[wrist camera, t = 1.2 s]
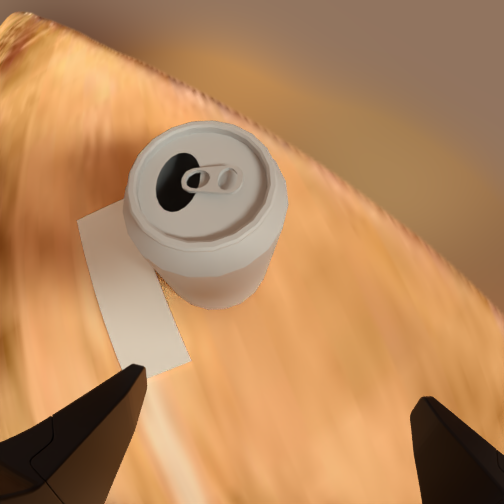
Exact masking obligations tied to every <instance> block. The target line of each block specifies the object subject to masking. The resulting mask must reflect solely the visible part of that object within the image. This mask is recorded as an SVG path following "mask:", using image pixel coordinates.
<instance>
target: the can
mask: <svg viewBox="0 0 504 504" xmlns="http://www.w3.org/2000/svg"><path fill="white" fill-rule="evenodd" d="M287 208H288V197H287V188H286V181H285V179H284V177H283V175H282V173H281V171H280V169H279V167H278V165H277V163H276V161H275V160H274V159H273V158H272V157H271V155H270V153H269V151H268V149H267V148H266V147H265V146H264V145H263V144H262V143H261V142H260V141H259V140H258V139H257V138H256V137H255V136H254V135H253V134H251V133H249V132H247V131H245V130H243V129H242V128H240V127H238V126H236V125H233V124H228V123H223V122H218V121H195V122H189V123H186V124H183V125H179V126H176V127H173V128H170V129H169V130H167V131H165V132H164V133H162V134H160V135H159V136H157V137H156V138H154V139H153V140H152V141H151V142H150V143H149V144H148V145H147V146H146V147H145V148H144V149H143V150H142V151H141V152H140V153H139V154H138V156H137V158H136V160H135V162H134V164H133V166H132V168H131V170H130V172H129V177H128V184H127V186H126V188H125V196H124V203H123V215H124V220H125V224H126V228H127V233H128V235H129V236H130V238H131V240H132V241H133V243H134V244H135V246H136V247H137V249H138V250H139V252H140V253H141V254H142V256H143V257H144V258H145V259H146V260H147V261H148V262H149V264H150V265H151V266H152V267H153V268H154V269H155V270H156V271H157V273H158V274H159V275H160V276H161V277H162V278H163V279H164V280H165V281H166V283H167V284H168V285H169V286H170V287H171V288H172V289H173V290H174V291H175V292H176V293H177V294H178V295H179V296H180V297H181V298H183V299H184V300H186V301H187V302H189V303H190V304H191V305H194V306H198V307H201V308H204V309H208V310H210V309H226V308H229V307H232V306H235V305H238V304H240V303H242V302H243V301H245V300H246V299H247V298H248V297H250V296H251V295H252V294H253V293H255V291H256V290H257V288H258V286H259V285H260V283H261V282H262V280H263V279H264V276H265V273H266V271H267V268H268V265H269V263H270V260H271V257H272V255H273V252H274V249H275V247H276V244H277V241H278V239H279V236H280V233H281V231H282V228H283V224H284V220H285V216H286V212H287Z"/></svg>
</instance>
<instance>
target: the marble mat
mask: <svg viewBox="0 0 504 504" xmlns="http://www.w3.org/2000/svg"><path fill="white" fill-rule="evenodd" d="M123 203H124V199H122V200H119V201H117V202H115V203H113V204H111V205H108V206H106V207H104V208H102V209H100V210H98V211H96V212H93V213H91V214H89V215H87V216H85V217H83V218H81V219H79V220H77V224H78V228H79V233H80V237H81V242H82V246H83V250H84V254H85V258H86V262H87V266H88V269H89V273H90V277H91V280H92V284H93V287H94V291H95V294H96V297H97V301H98V304H99V307H100V310H101V313H102V316H103V319H104V322H105V325H106V328H107V331H108V334H109V337H110V339H111V342H112V345H113V348H114V350H115V353H116V356H117V358H118V361H119V363H120V366H121V368H122V370H123V369H125V368H126V367H128V366H129V365H131V364H138V365H142V366H144V367H145V368H146V377H147V378H149V377H152V376H155V375H157V374H160V373H162V372H165V371H168V370H170V369H173V368H175V367H178V366H180V365H183V364H185V363H188V362H190V361H192V360H191V358H190V356H189V353H188V351H187V349H186V347H185V344H184V342H183V340H182V337H181V335H180V333H179V330H178V328H177V325H176V323H175V321H174V318H173V316H172V313H171V311H170V308H169V306H168V303H167V301H166V298H165V296H164V293H163V290H162V288H161V285H160V283H159V280H158V277H157V275H156V272H155V269H154V268H153V267H152V266H151V265H150V264H149V262H148V261H147V260H146V259H145V258H144V257H143V256H142V254H141V253H140V252H139V250H138V249H137V247H136V246H135V244H134V243H133V241H132V240H131V238H130V236H129V235H128V233H127V228H126V224H125V220H124V215H123Z"/></svg>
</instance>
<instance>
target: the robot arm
mask: <svg viewBox="0 0 504 504" xmlns="http://www.w3.org/2000/svg"><path fill="white" fill-rule="evenodd" d="M146 390H147V377H146V368H145V367H144V366H142V365H138V364H131V365H129V366H128V367H126V368H125V369H123V370H122V371H120V372H118V373H117V374H115V375H114V376H112V377H111V378H109V379H108V380H106V381H105V382H103V383H102V384H100V385H99V386H97V387H95V388H94V389H92V390H91V391H89V392H88V393H86V394H85V395H83V396H82V397H80V398H78V399H77V400H75V401H74V402H72V403H71V404H69V405H68V406H66V407H64V408H63V409H61V410H60V411H58V412H56V413H55V414H53V415H52V416H50V417H48V418H47V419H45V420H44V421H42V422H40V423H39V424H37V425H35V426H33V427H32V428H30V429H28V430H26V431H24V432H22V433H20V434H18V435H16V436H14V437H11V438H9V439H7V440H5V441H2V442H0V504H104V503H105V501H106V498H107V496H108V493H109V491H110V488H111V486H112V484H113V481H114V479H115V476H116V474H117V472H118V469H119V467H120V464H121V462H122V460H123V457H124V455H125V453H126V450H127V448H128V446H129V443H130V441H131V439H132V436H133V434H134V431H135V428H136V425H137V421H138V418H139V414H140V411H141V407H142V404H143V401H144V397H145V394H146ZM410 423H411V431H412V441H413V451H414V458H415V464H416V469H417V475H418V480H419V486H420V492H421V499H422V504H504V455H503V454H502V453H500V452H499V451H498V450H496V448H494V447H493V446H492V445H491V444H489V443H488V442H487V441H486V440H485V439H483V438H482V437H481V436H480V435H479V434H477V433H476V432H475V431H474V430H473V429H471V428H470V427H469V426H468V425H467V424H465V423H464V422H463V421H462V420H460V419H459V418H458V417H457V416H456V415H454V414H453V413H452V412H451V411H450V410H448V409H447V408H446V407H445V406H444V405H442V404H441V403H440V402H439V401H437V400H436V399H435V398H434V397H432V396H424V397H421V398H420V399H419V401H418V403H417V404H416V406H415V407H414V409H413V410H412V412H411V415H410Z"/></svg>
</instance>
